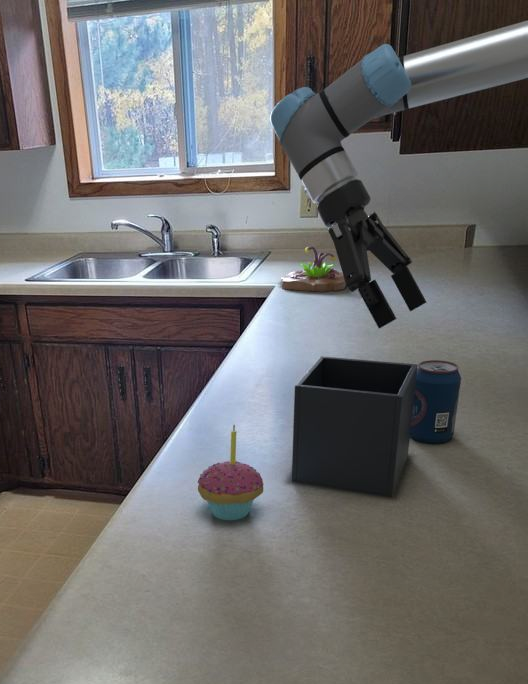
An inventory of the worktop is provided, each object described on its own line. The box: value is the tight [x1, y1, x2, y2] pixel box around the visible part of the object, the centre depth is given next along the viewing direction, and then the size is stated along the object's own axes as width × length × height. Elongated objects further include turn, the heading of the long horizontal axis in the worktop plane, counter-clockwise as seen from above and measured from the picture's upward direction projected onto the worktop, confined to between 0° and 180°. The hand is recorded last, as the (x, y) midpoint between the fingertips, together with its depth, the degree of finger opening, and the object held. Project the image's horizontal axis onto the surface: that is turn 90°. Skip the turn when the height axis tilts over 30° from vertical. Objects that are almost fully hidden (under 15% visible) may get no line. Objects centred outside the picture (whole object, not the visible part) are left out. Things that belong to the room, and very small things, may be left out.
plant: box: [281, 246, 347, 293], centre depth 220 cm, size 20×20×11 cm
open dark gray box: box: [291, 356, 419, 498], centre depth 104 cm, size 14×14×15 cm
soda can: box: [410, 359, 462, 445], centre depth 114 cm, size 7×7×12 cm
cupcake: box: [197, 424, 264, 521], centre depth 95 cm, size 9×8×12 cm
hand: (403, 315), depth 112 cm, fingers open, 13 cm apart
